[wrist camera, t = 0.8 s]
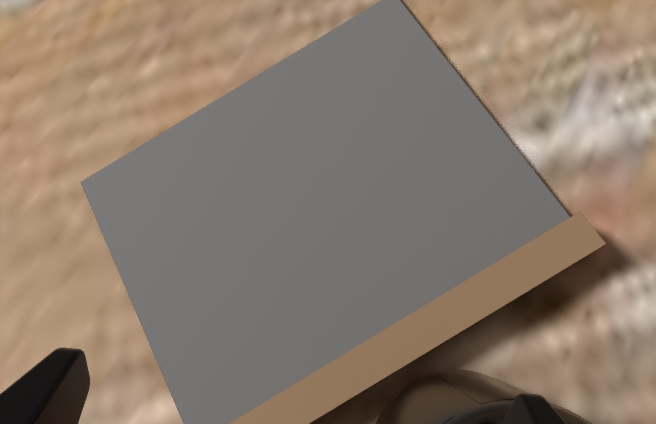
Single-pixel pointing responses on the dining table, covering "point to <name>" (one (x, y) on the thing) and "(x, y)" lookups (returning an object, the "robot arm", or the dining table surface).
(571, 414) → the supplement bottle
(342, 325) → the mat
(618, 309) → the dining table surface
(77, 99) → the dining table surface
